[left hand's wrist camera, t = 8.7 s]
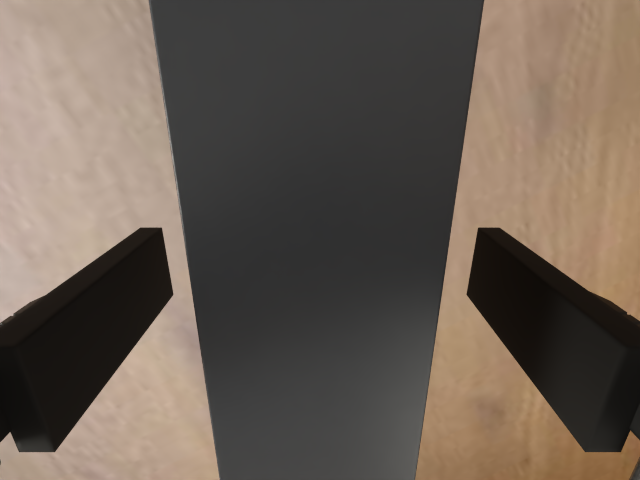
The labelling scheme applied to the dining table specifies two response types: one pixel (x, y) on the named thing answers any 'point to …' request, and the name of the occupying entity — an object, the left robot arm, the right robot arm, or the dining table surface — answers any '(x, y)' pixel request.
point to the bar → (316, 218)
